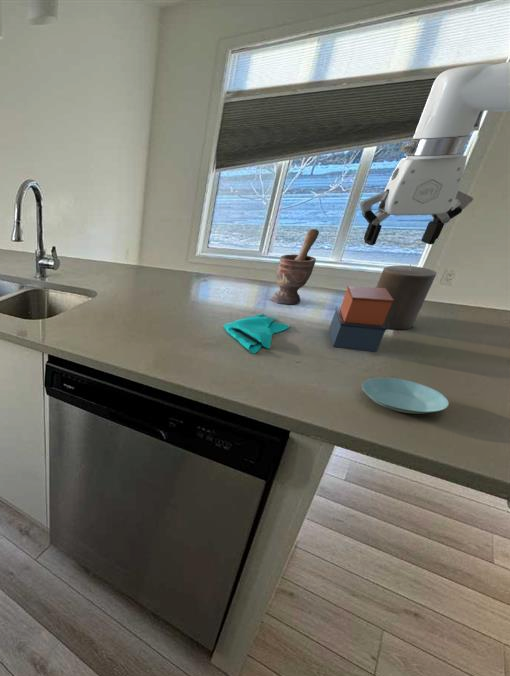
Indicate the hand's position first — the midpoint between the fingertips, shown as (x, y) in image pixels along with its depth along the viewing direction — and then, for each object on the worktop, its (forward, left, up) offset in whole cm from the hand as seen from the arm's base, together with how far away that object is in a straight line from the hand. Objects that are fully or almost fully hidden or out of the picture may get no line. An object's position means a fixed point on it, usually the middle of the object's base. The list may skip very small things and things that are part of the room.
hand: (397, 243), depth 84 cm
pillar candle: (-8, -18, -24) cm, 31 cm away
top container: (+1, -3, -18) cm, 18 cm away
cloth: (+22, -1, -24) cm, 32 cm away
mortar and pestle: (+14, -31, -24) cm, 42 cm away
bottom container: (+1, -3, -24) cm, 24 cm away
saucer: (-3, +26, -24) cm, 35 cm away
